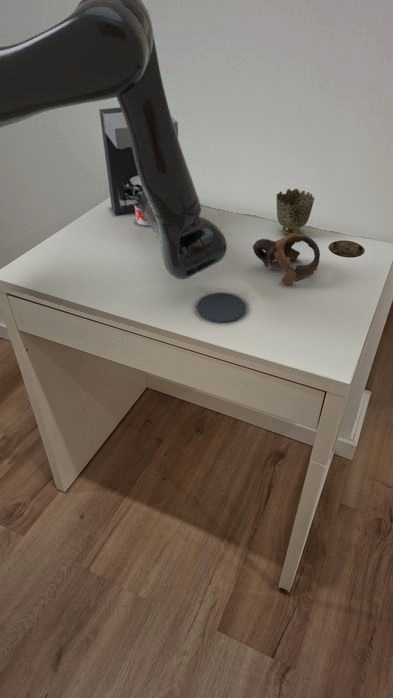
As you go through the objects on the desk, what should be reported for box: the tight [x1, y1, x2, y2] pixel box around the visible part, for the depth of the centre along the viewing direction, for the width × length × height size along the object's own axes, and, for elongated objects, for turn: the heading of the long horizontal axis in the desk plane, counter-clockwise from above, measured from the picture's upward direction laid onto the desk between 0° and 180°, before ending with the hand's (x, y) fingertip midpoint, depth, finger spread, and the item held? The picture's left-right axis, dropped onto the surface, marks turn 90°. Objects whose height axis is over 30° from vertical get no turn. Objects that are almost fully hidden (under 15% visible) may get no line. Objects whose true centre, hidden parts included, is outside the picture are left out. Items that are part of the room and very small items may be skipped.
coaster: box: [196, 292, 247, 324], centre depth 80 cm, size 8×8×1 cm
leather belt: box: [252, 233, 321, 286], centre depth 87 cm, size 12×10×8 cm
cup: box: [276, 188, 315, 236], centre depth 98 cm, size 8×7×8 cm
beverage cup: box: [130, 176, 150, 226], centre depth 101 cm, size 6×6×14 cm
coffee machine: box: [98, 106, 179, 216], centre depth 100 cm, size 14×12×21 cm
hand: (141, 180), depth 102 cm, fingers closed on beverage cup, 6 cm apart
